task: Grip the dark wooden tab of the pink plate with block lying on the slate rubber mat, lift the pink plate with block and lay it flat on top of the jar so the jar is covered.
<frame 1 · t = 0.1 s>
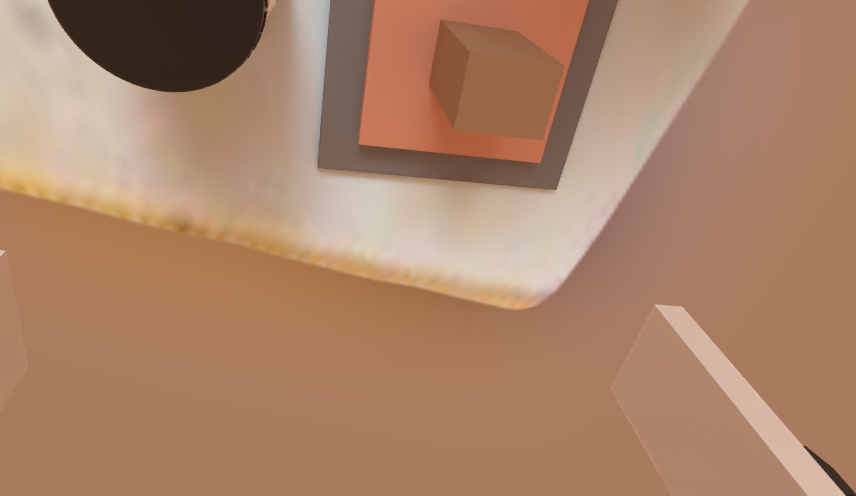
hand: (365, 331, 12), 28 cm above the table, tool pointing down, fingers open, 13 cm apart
mat: (466, 51, 37), on the table
pink plate with block: (468, 53, 36), point 1 cm above the table, touching mat
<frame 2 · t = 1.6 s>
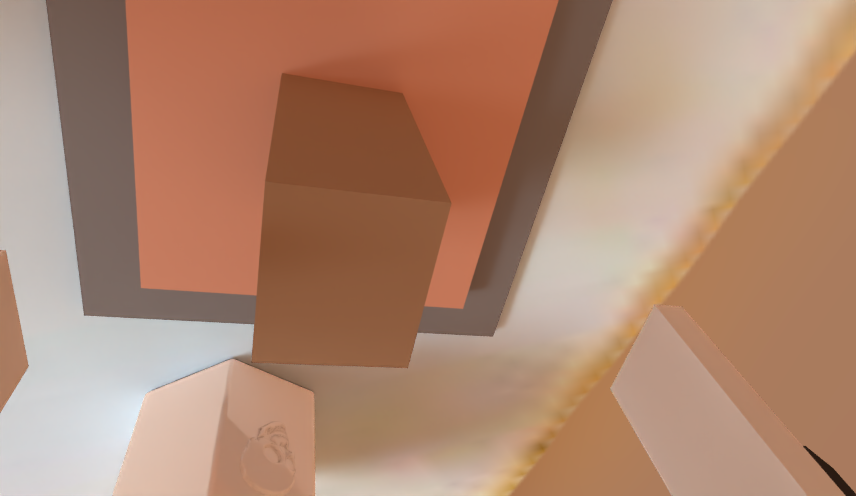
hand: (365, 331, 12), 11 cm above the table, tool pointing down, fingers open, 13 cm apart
mat: (332, 134, 21), on the table
jar: (233, 418, 29), on the table
pink plate with block: (332, 140, 21), point 1 cm above the table, touching mat
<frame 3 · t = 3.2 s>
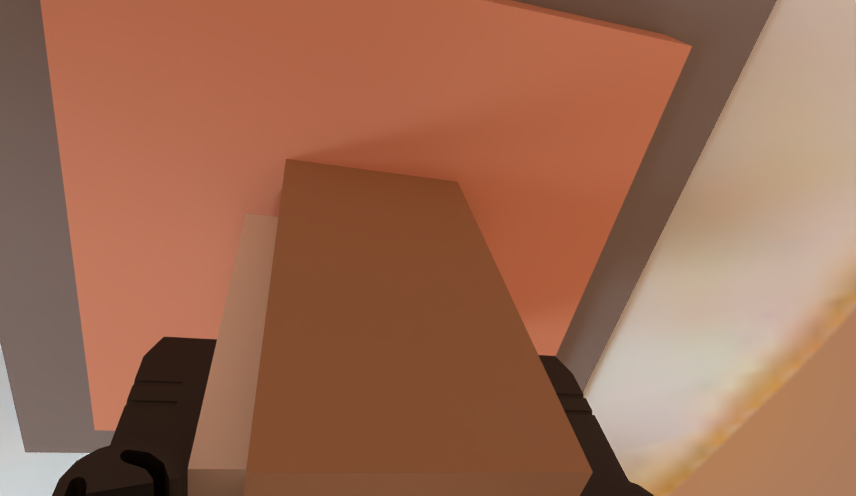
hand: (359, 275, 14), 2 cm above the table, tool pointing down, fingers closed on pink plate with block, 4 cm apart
mat: (355, 224, 16), on the table
pink plate with block: (356, 236, 15), point 1 cm above the table, touching gripper, mat
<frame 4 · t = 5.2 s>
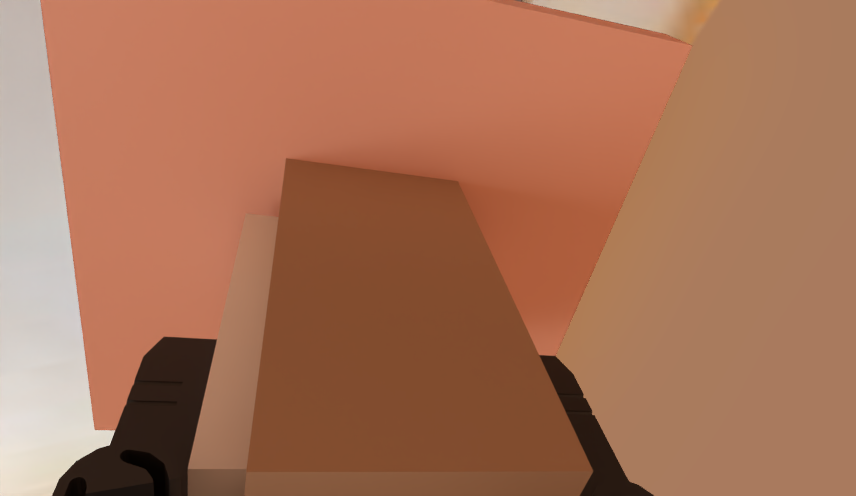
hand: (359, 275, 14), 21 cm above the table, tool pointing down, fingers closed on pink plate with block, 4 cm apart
pink plate with block: (356, 235, 15), point 19 cm above the table, touching gripper
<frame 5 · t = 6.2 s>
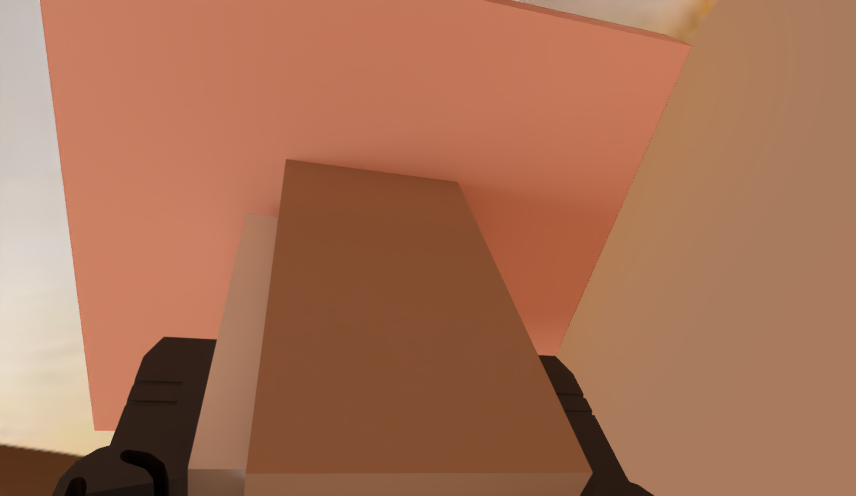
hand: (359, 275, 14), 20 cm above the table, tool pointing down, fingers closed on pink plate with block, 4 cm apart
pink plate with block: (356, 236, 15), point 19 cm above the table, touching gripper
when the fingers open (15 cm above the table, at t = 7.3 s): pink plate with block drops 2 cm, resting on jar.
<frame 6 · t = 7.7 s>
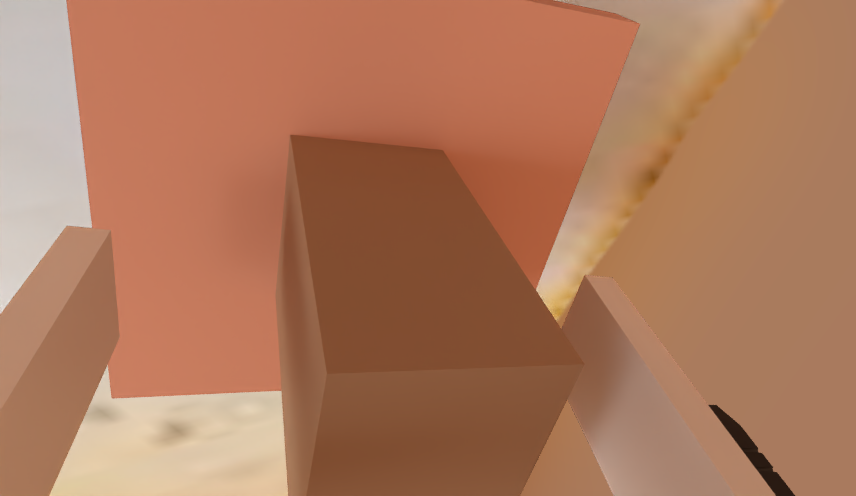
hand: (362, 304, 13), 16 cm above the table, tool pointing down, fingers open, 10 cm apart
pink plate with block: (349, 204, 17), point 12 cm above the table, tilted 6°, touching jar
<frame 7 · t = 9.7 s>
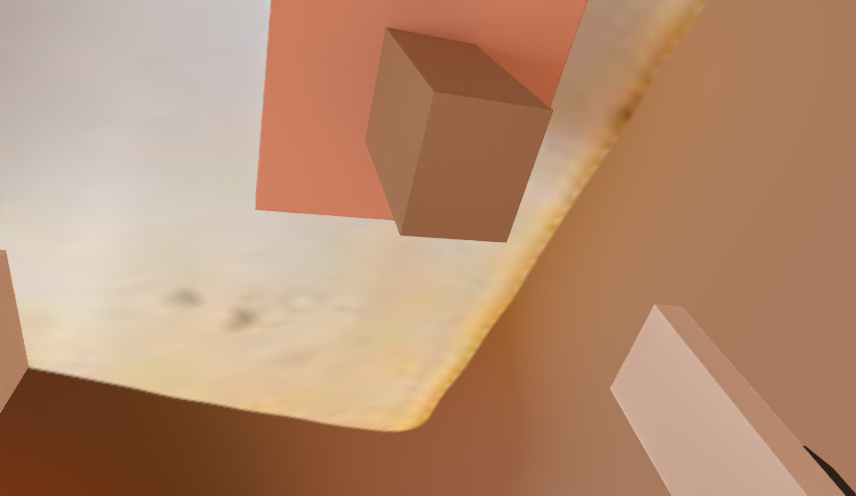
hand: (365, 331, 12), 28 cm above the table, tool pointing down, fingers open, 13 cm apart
pink plate with block: (413, 85, 26), point 12 cm above the table, tilted 6°, touching jar
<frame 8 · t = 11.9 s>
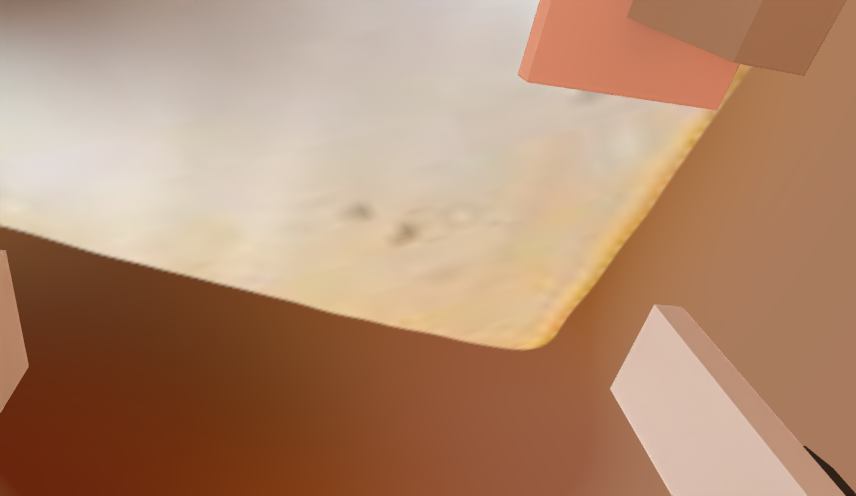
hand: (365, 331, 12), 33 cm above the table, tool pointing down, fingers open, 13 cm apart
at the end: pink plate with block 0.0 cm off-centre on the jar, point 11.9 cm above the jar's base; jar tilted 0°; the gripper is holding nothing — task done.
